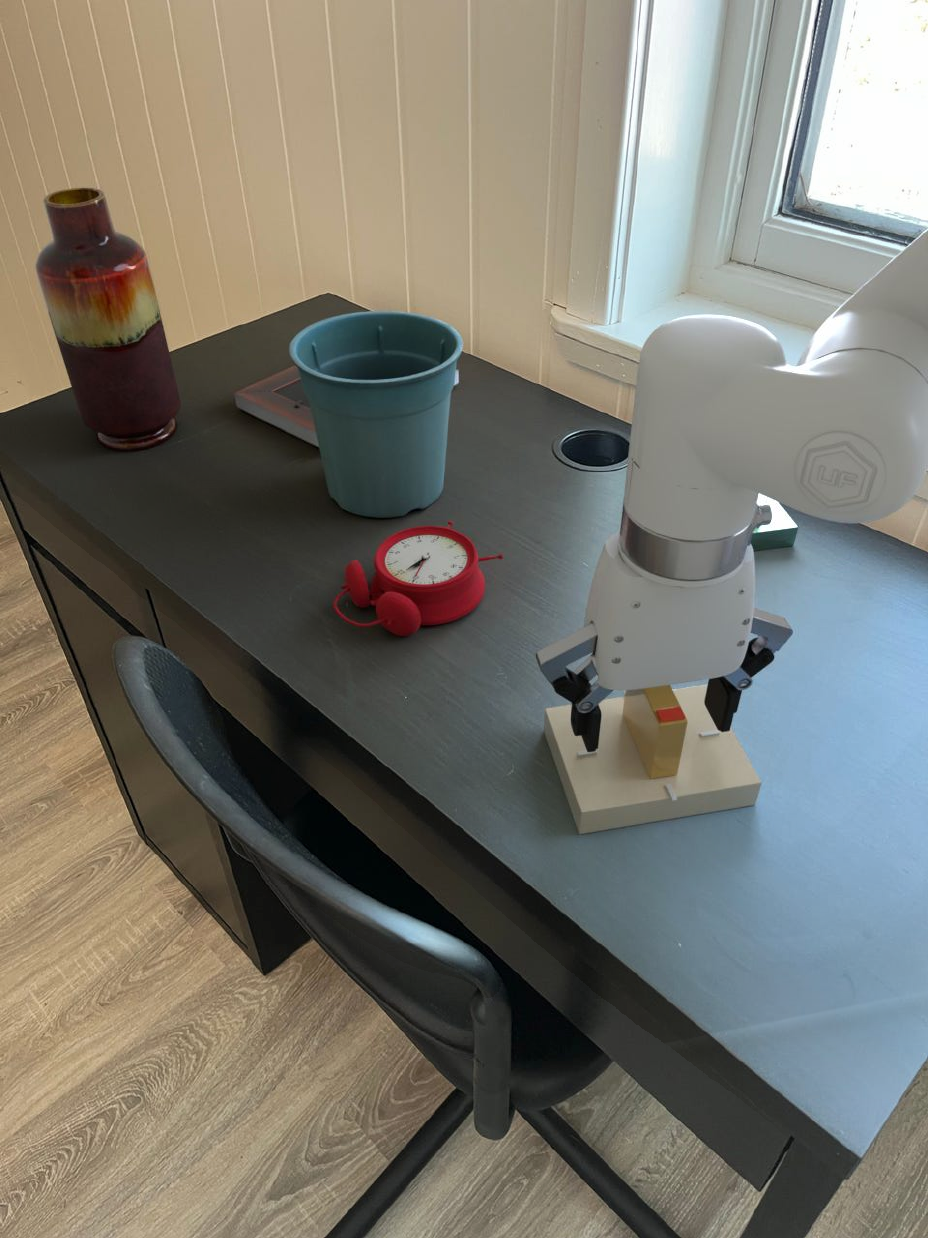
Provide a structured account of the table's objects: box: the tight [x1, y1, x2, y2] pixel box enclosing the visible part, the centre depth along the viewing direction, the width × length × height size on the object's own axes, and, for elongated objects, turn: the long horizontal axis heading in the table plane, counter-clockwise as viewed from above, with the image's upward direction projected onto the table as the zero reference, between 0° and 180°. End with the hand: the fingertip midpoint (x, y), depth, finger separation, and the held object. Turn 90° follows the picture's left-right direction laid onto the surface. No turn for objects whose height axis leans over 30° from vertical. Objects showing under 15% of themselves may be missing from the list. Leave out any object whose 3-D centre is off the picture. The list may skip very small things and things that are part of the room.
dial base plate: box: [543, 683, 762, 835], centre depth 69 cm, size 13×11×3 cm
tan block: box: [623, 685, 688, 779], centre depth 67 cm, size 6×2×6 cm, turn 10°
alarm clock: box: [333, 520, 504, 637], centre depth 84 cm, size 10×6×15 cm
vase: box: [34, 187, 181, 452], centre depth 101 cm, size 11×11×26 cm
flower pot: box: [288, 310, 464, 519], centre depth 95 cm, size 16×16×16 cm
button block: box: [750, 494, 799, 552], centre depth 92 cm, size 10×9×4 cm
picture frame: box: [233, 364, 460, 448], centre depth 114 cm, size 16×2×22 cm
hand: (651, 727), depth 67 cm, fingers open, 9 cm apart
